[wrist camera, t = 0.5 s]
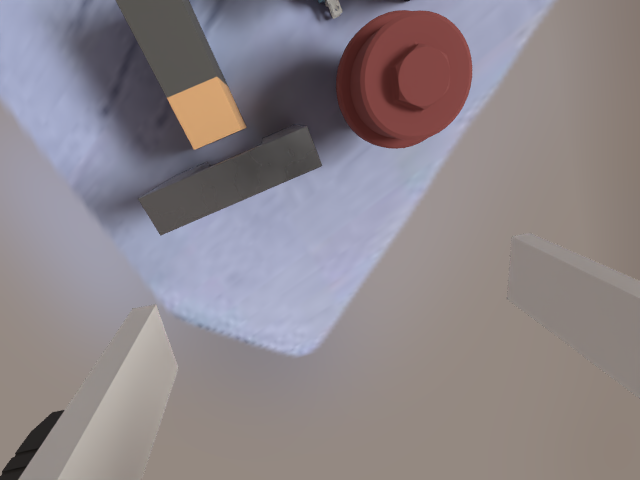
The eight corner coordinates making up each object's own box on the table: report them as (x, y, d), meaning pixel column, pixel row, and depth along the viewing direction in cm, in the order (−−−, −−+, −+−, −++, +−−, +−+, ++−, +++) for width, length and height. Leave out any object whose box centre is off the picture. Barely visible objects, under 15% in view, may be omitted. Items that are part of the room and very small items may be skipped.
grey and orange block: (142, 10, 30) (101, -27, 22) (185, -8, 30) (158, -51, 22) (209, 143, 34) (194, 150, 26) (246, 127, 34) (241, 129, 27)
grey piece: (175, 175, 34) (137, 198, 24) (294, 124, 35) (307, 126, 24) (190, 202, 35) (160, 235, 25) (305, 152, 36) (322, 165, 25)
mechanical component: (422, 131, 37) (332, 152, 36) (412, 26, 33) (313, 46, 33) (494, 136, 25) (365, 166, 25) (491, -24, 22) (340, 5, 21)
